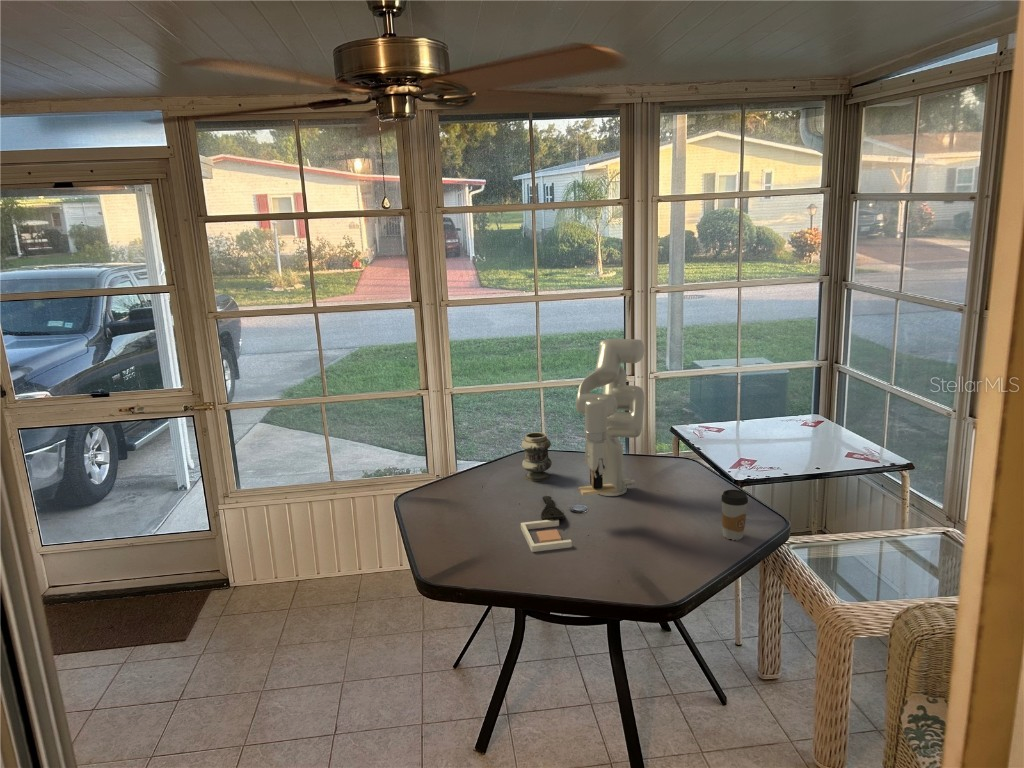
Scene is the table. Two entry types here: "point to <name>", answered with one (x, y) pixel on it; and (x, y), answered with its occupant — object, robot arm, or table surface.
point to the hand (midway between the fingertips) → (596, 485)
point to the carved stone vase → (536, 456)
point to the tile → (548, 536)
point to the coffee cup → (734, 513)
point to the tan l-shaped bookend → (591, 491)
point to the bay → (547, 544)
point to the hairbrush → (551, 510)
